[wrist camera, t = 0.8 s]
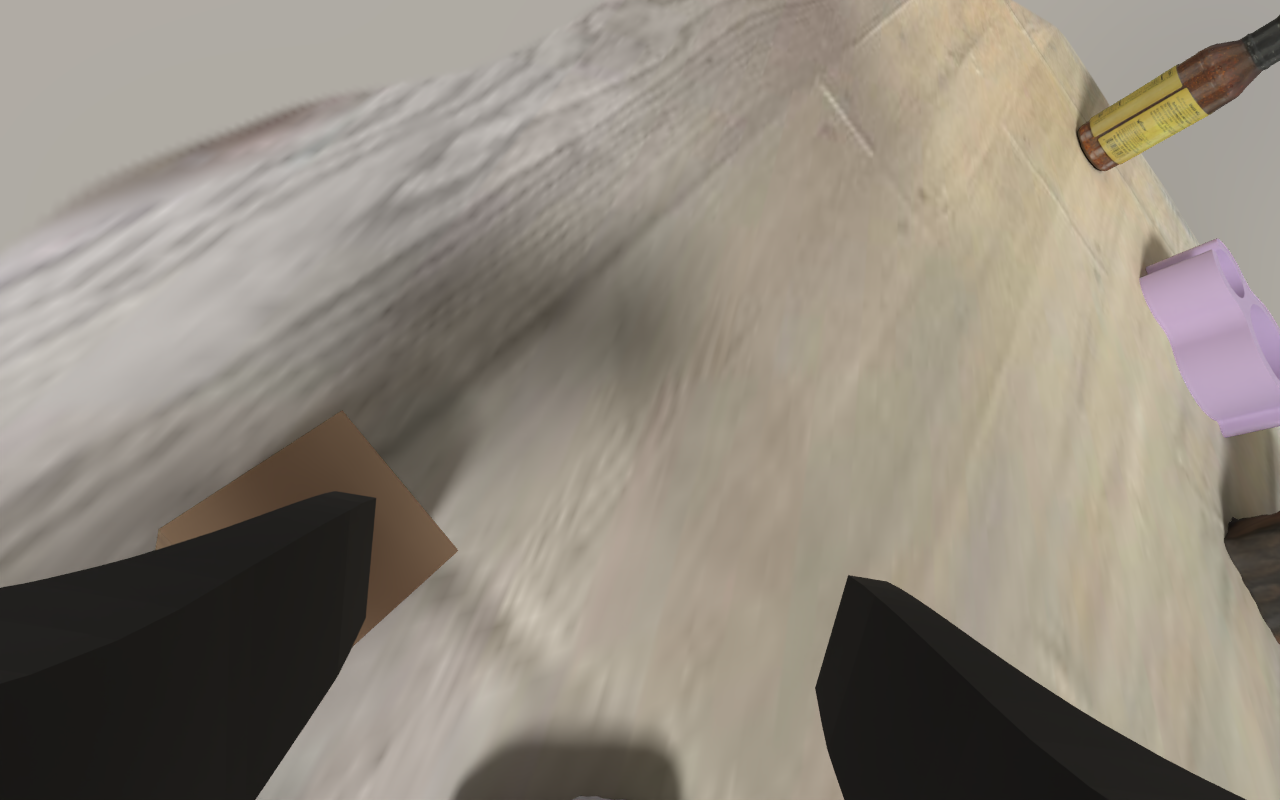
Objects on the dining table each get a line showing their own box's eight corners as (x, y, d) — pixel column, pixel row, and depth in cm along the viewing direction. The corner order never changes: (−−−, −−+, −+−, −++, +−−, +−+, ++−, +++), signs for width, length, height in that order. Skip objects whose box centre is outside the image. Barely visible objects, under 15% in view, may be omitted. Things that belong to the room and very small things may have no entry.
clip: (1129, 292, 75) (1206, 262, 69) (1151, 255, 83) (1221, 226, 77) (1221, 450, 76) (1304, 433, 71) (1234, 399, 84) (1309, 380, 78)
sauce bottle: (1110, 176, 83) (1333, 62, 67) (1089, 171, 79) (1321, 49, 63) (1088, 127, 84) (1304, 3, 68) (1066, 120, 80) (1289, -12, 64)
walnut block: (266, 687, 21) (303, 690, 17) (153, 561, 21) (158, 529, 16) (397, 574, 24) (458, 550, 20) (301, 461, 24) (342, 410, 19)
